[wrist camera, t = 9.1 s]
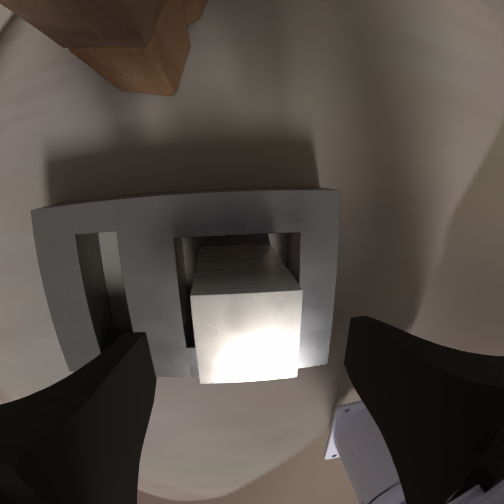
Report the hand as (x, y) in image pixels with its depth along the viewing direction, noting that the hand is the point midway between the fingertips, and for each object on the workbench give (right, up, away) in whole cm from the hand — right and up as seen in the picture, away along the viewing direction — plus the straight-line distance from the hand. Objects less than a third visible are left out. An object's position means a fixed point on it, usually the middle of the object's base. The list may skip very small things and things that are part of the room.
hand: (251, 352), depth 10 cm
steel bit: (-1, +2, +8) cm, 8 cm away
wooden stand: (-5, +17, +3) cm, 18 cm away
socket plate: (-4, +2, +7) cm, 9 cm away
